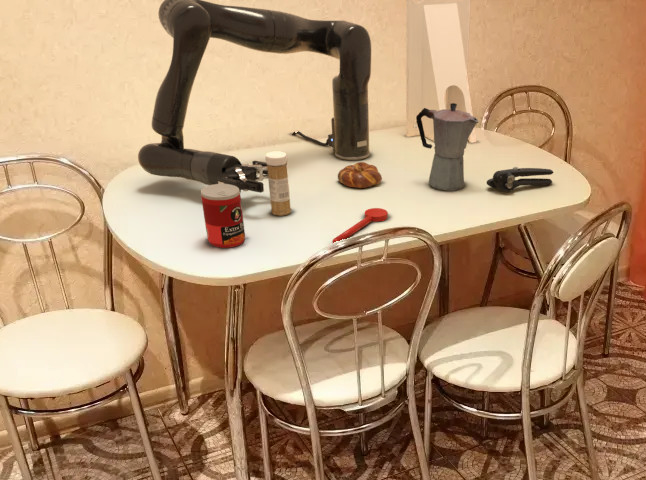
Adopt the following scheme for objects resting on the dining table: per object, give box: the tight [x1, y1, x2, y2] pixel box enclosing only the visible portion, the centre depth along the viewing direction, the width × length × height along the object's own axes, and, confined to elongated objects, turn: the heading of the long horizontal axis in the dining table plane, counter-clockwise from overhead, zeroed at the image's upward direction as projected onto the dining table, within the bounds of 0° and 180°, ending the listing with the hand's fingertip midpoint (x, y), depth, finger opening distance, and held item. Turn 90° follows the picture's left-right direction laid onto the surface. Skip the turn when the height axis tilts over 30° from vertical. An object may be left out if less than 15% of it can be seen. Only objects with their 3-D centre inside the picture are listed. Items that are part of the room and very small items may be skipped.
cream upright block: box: [405, 0, 477, 144], centre depth 215 cm, size 20×14×40 cm
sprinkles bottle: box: [265, 150, 292, 216], centre depth 172 cm, size 5×5×14 cm
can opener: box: [486, 166, 554, 193], centre depth 191 cm, size 18×7×6 cm, turn 113°
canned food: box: [200, 184, 246, 249], centre depth 159 cm, size 8×8×11 cm
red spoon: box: [331, 207, 389, 244], centre depth 169 cm, size 20×5×1 cm, turn 154°
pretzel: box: [337, 161, 383, 189], centre depth 193 cm, size 12×11×4 cm
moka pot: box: [415, 103, 480, 192], centre depth 187 cm, size 10×15×20 cm, turn 78°
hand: (274, 181), depth 172 cm, fingers open, 8 cm apart
